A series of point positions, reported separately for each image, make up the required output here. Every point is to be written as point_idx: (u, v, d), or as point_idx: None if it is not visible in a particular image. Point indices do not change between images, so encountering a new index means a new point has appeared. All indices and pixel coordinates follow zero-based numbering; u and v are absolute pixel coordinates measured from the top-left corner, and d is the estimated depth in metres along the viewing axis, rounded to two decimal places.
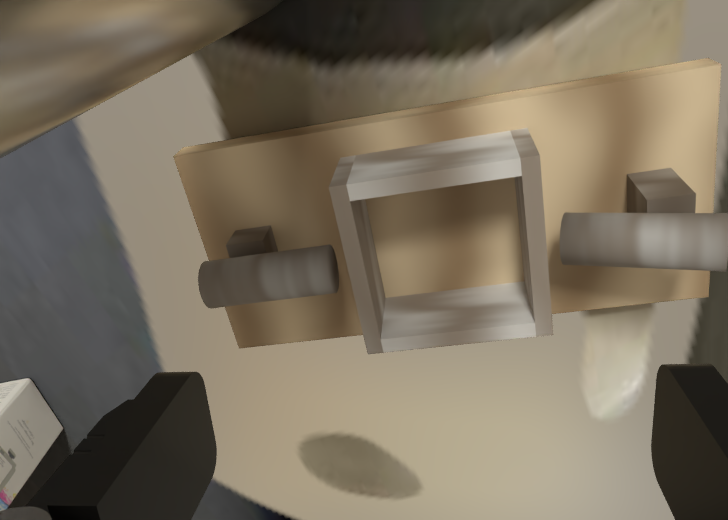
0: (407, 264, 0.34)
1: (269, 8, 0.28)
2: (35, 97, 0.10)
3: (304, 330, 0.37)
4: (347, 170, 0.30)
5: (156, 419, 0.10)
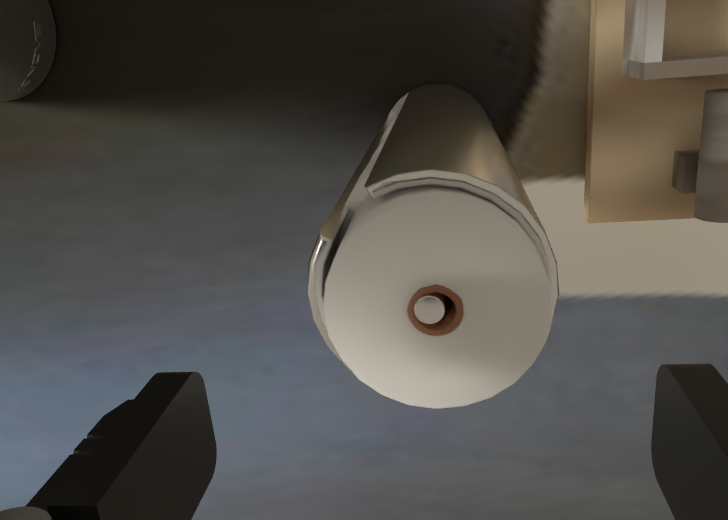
0: None
1: (485, 113, 0.36)
2: (505, 177, 0.17)
3: None
4: (632, 64, 0.33)
5: (156, 419, 0.10)
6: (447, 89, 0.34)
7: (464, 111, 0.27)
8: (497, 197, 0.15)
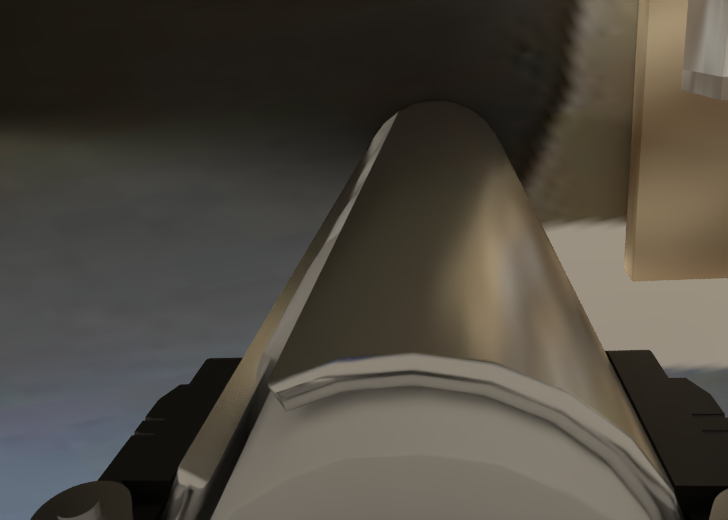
0: None
1: (499, 141, 0.27)
2: (568, 329, 0.09)
3: None
4: (701, 78, 0.24)
5: (214, 401, 0.10)
6: (448, 110, 0.26)
7: (474, 151, 0.19)
8: (568, 421, 0.07)
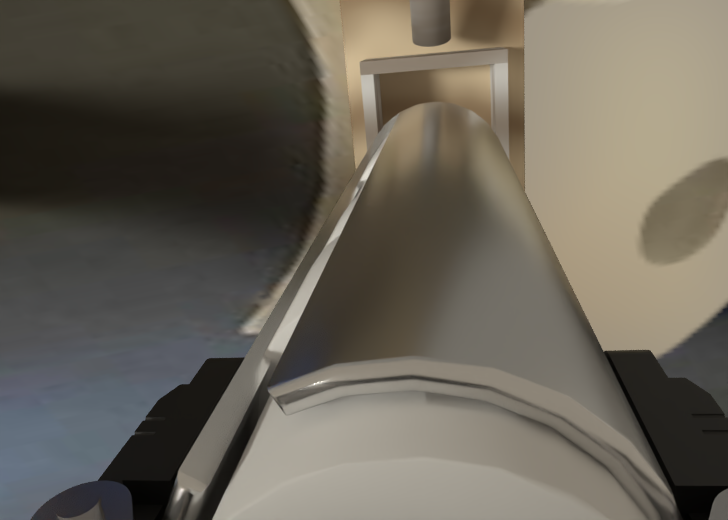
0: None
1: (500, 142, 0.27)
2: (568, 333, 0.09)
3: None
4: None
5: (215, 401, 0.10)
6: (449, 111, 0.26)
7: (475, 152, 0.19)
8: (568, 426, 0.07)
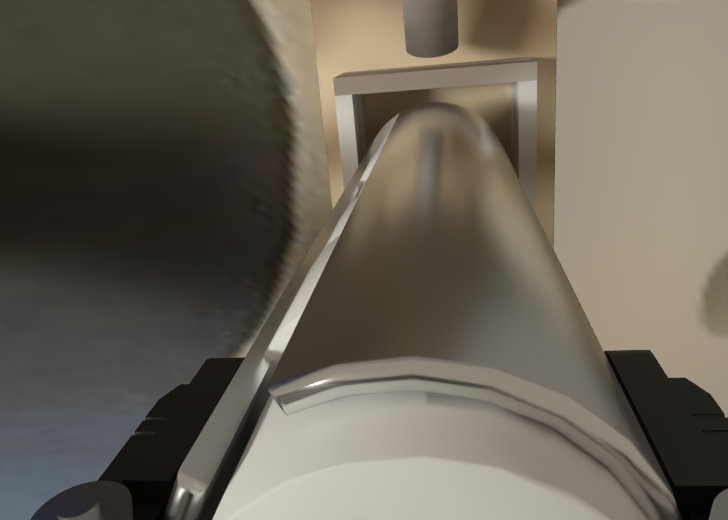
0: None
1: (500, 142, 0.27)
2: (568, 333, 0.09)
3: None
4: None
5: (215, 401, 0.10)
6: (449, 111, 0.26)
7: (475, 152, 0.19)
8: (568, 425, 0.07)
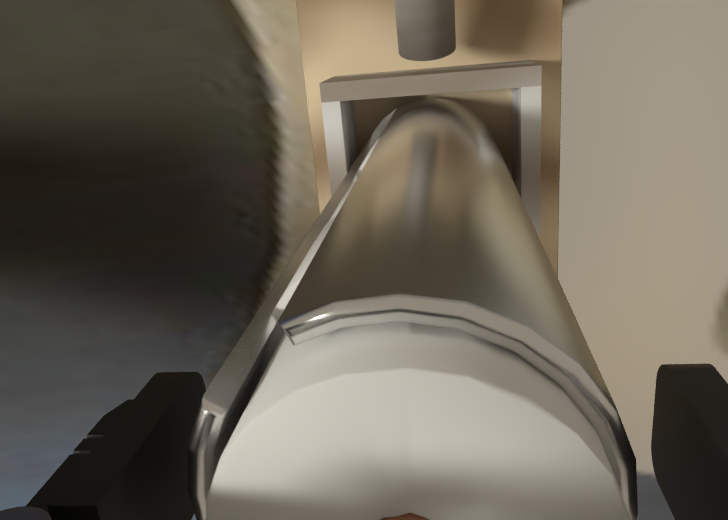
0: None
1: (492, 135, 0.28)
2: (535, 285, 0.10)
3: None
4: None
5: (156, 419, 0.10)
6: (443, 106, 0.27)
7: (465, 141, 0.20)
8: (527, 349, 0.08)
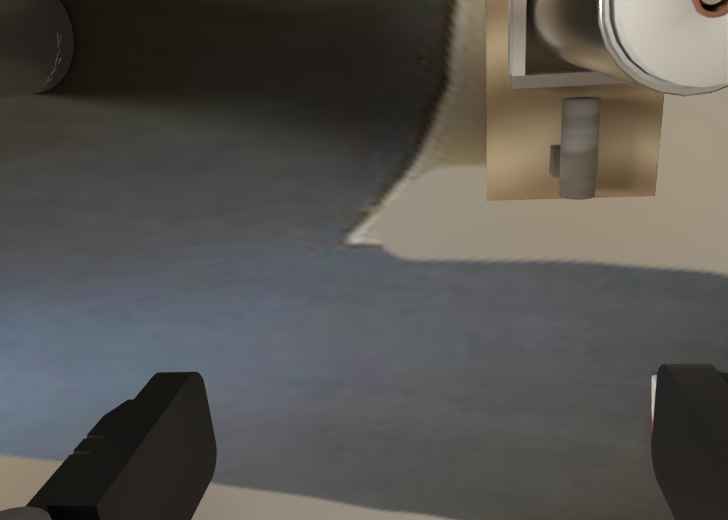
0: None
1: None
2: None
3: (649, 138, 0.45)
4: (509, 77, 0.43)
5: (156, 419, 0.10)
6: None
7: None
8: None
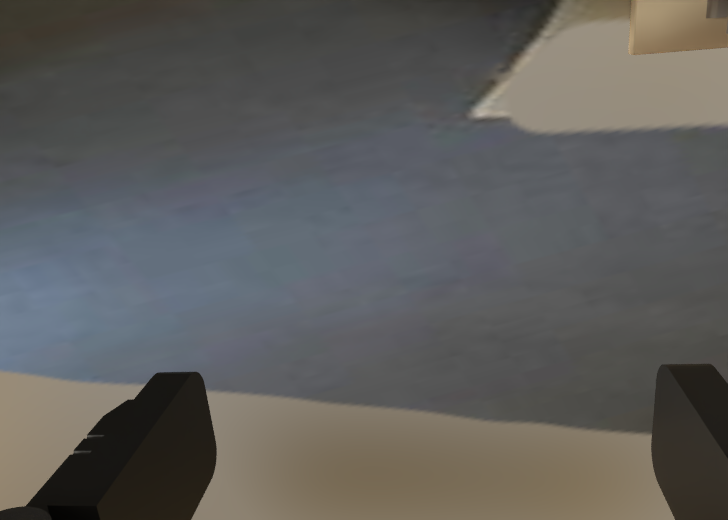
0: None
1: None
2: None
3: None
4: None
5: (156, 419, 0.10)
6: None
7: None
8: None
